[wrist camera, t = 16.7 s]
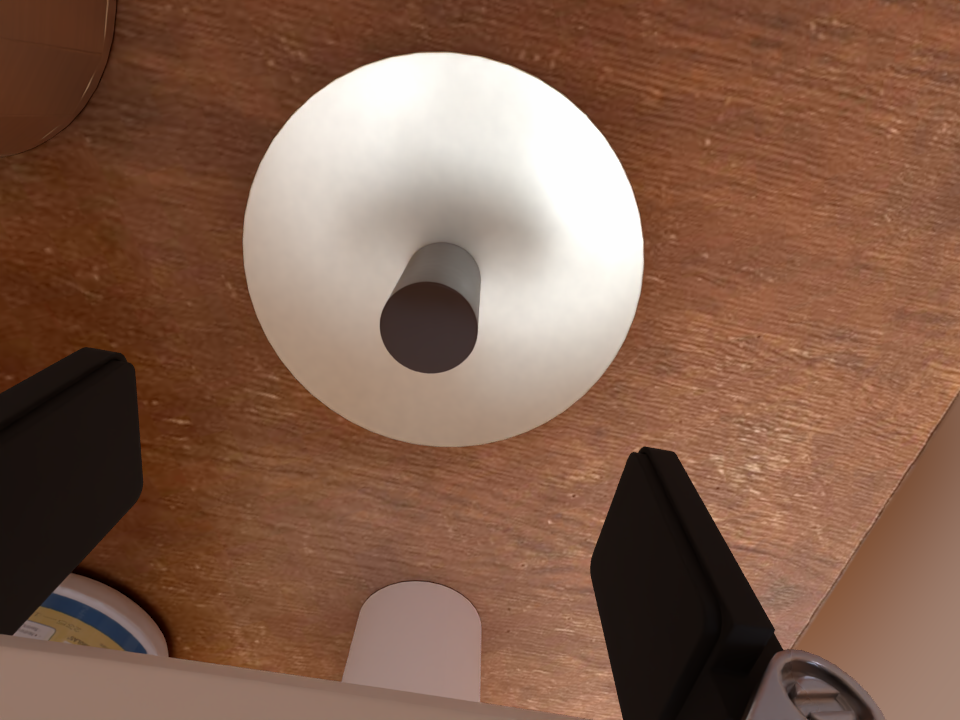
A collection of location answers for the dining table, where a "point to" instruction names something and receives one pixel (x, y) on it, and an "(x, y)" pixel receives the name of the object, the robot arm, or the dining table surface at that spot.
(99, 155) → the dining table surface
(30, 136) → the pot
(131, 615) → the supplement tub
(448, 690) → the cylindrical container
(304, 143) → the lid
